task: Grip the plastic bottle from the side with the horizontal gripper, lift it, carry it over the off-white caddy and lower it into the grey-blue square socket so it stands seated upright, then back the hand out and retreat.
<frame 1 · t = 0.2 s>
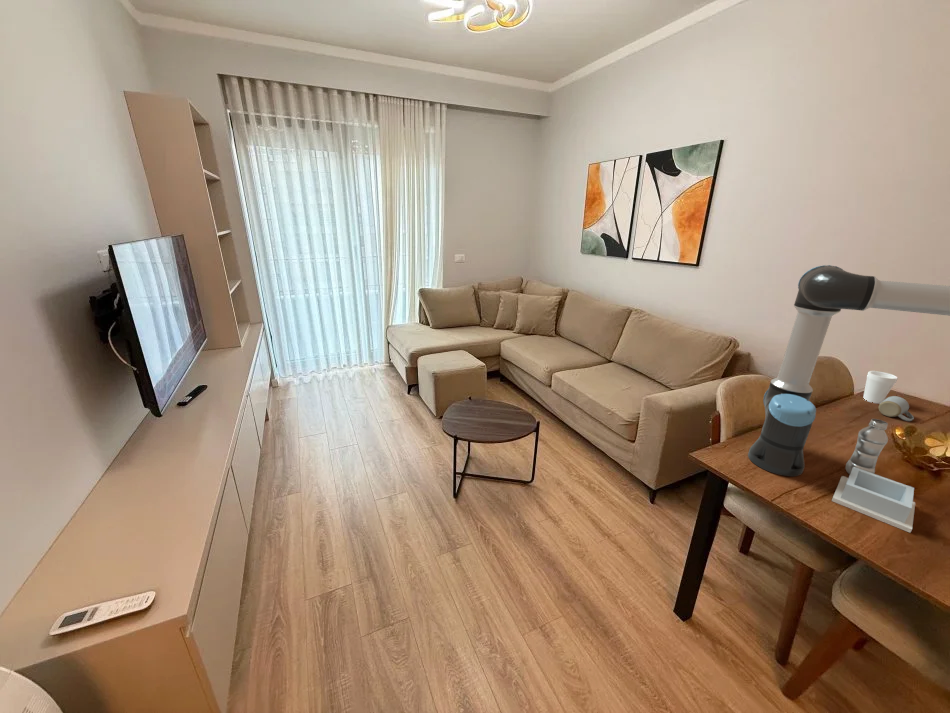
ceramic mug: (893, 416, 165), on the table
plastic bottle: (856, 476, 125), on the table
foam cup: (872, 400, 178), on the table
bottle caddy: (872, 503, 113), on the table
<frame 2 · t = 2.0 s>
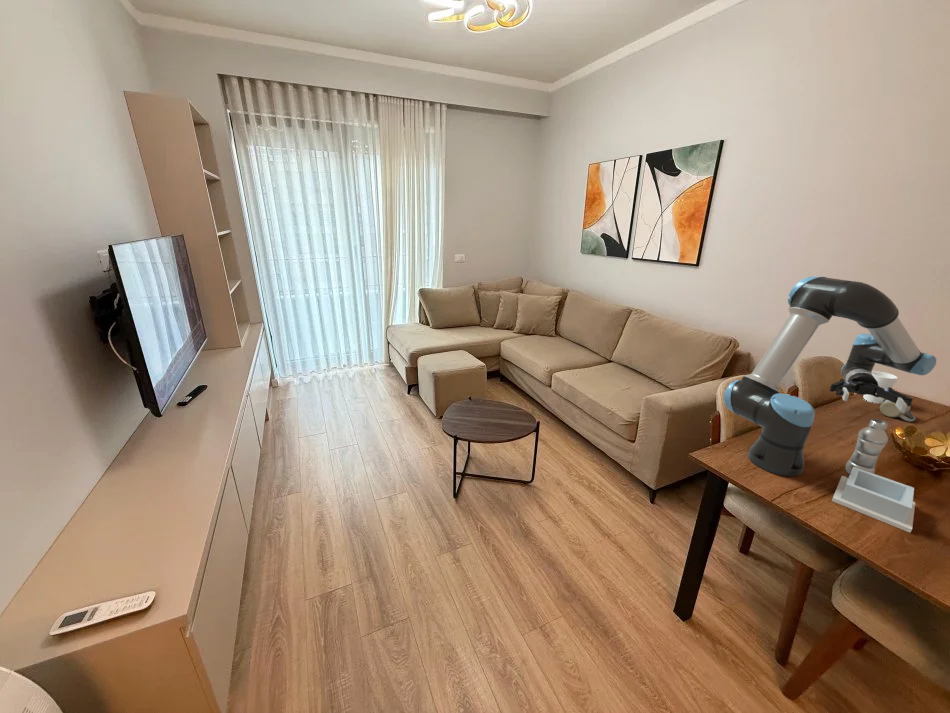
hand: (874, 403, 125), 22 cm above the table, tool horizontal, fingers open, 13 cm apart
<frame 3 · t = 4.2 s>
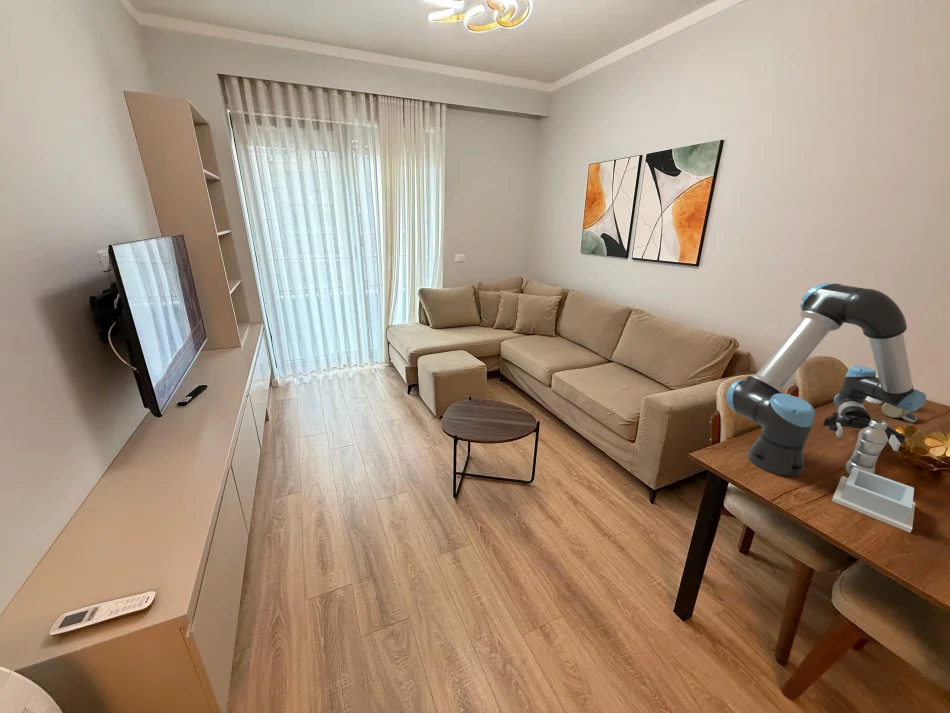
hand: (868, 440, 125), 11 cm above the table, tool horizontal, fingers open, 13 cm apart
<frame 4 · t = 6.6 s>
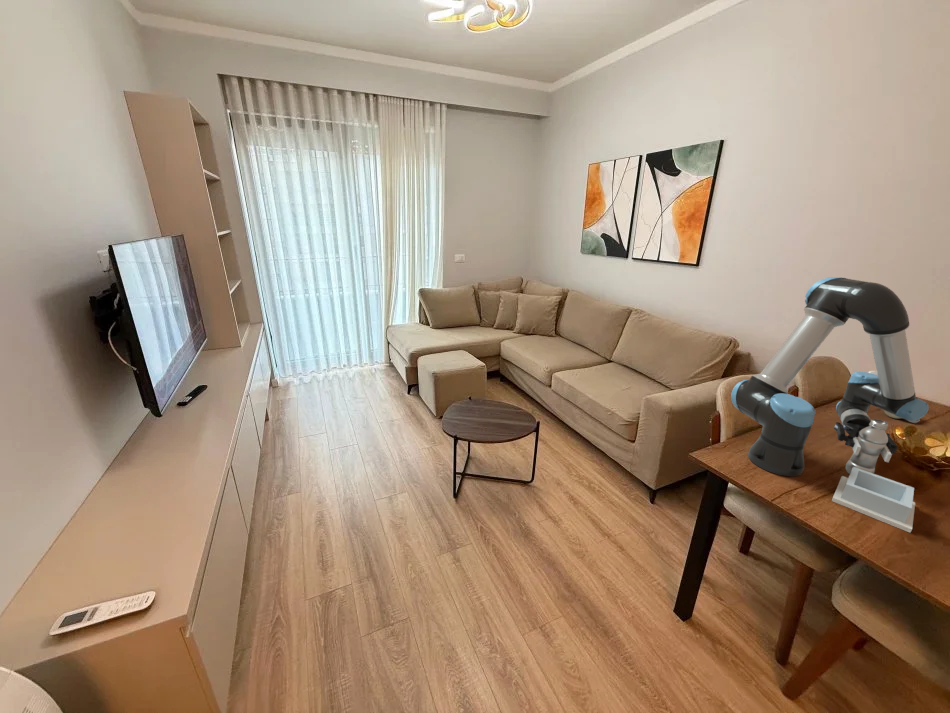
hand: (872, 454, 117), 11 cm above the table, tool horizontal, fingers closed on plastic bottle, 6 cm apart
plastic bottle: (856, 476, 125), on the table, touching gripper
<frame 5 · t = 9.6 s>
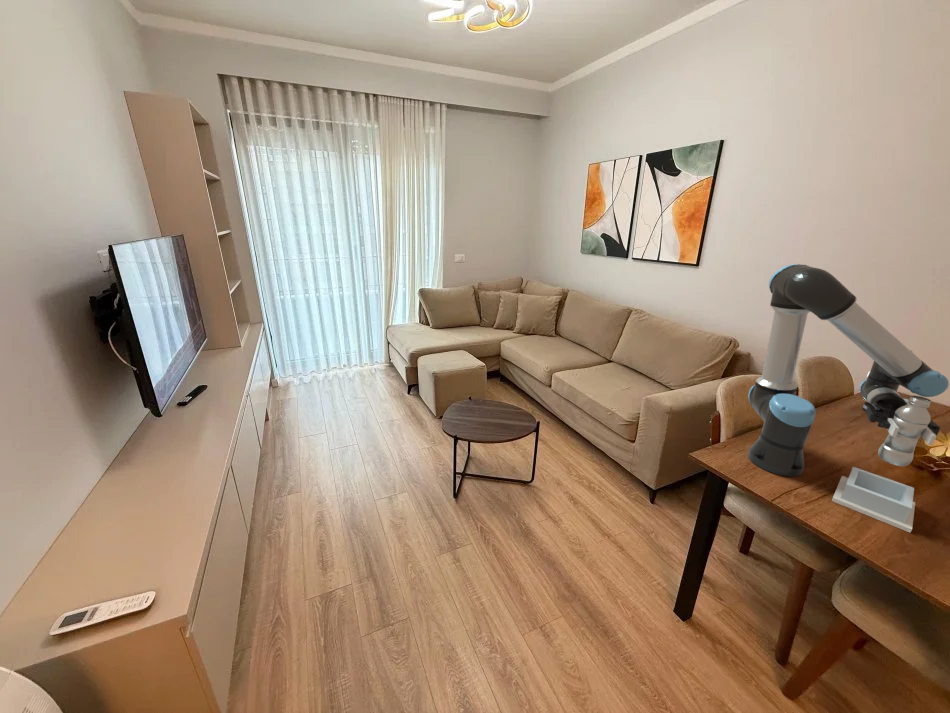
hand: (913, 436, 101), 25 cm above the table, tool horizontal, fingers closed on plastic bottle, 6 cm apart
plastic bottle: (891, 462, 109), point 14 cm above the table, touching gripper
when the fingers open (13 cm above the table, at t = 12.8 s): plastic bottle drops 1 cm, resting on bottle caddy.
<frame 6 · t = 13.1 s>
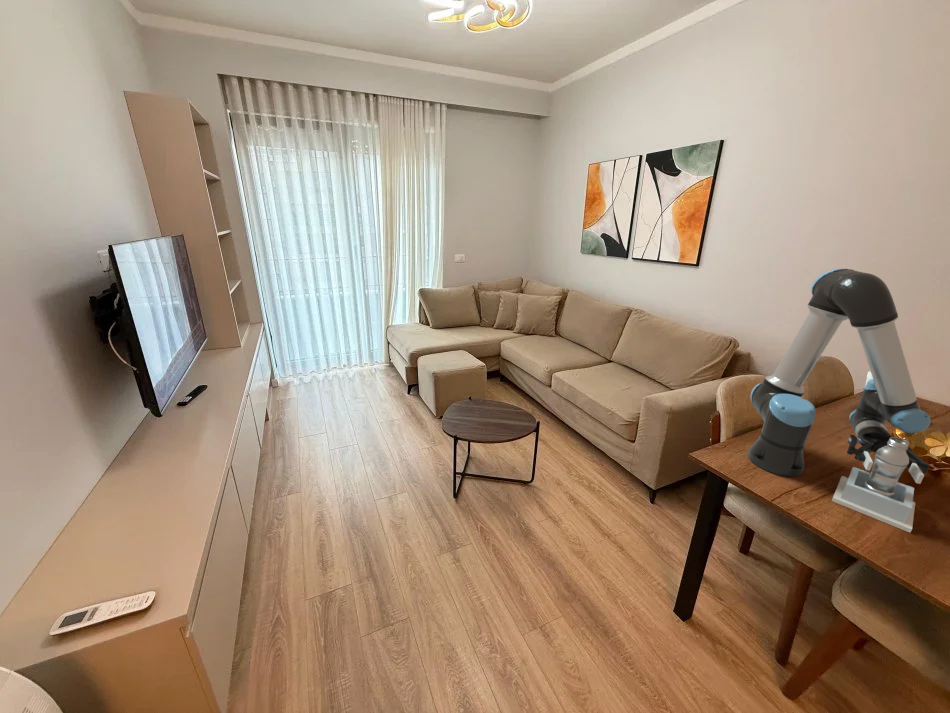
hand: (894, 472, 105), 13 cm above the table, tool horizontal, fingers open, 9 cm apart
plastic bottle: (874, 500, 112), point 1 cm above the table, touching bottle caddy
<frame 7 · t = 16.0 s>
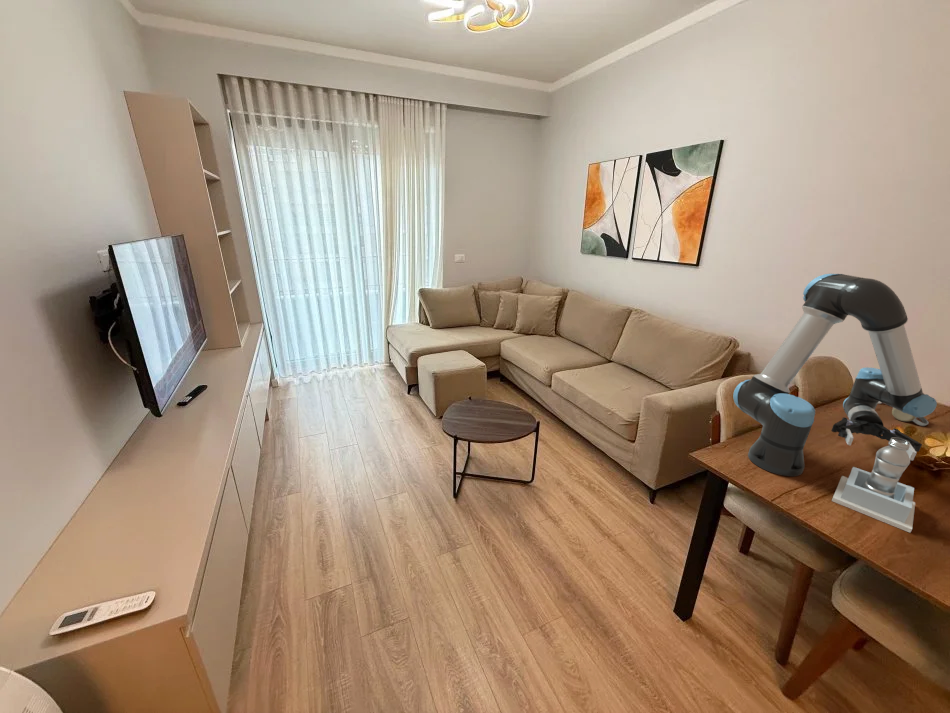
hand: (880, 448, 116), 14 cm above the table, tool horizontal, fingers open, 13 cm apart
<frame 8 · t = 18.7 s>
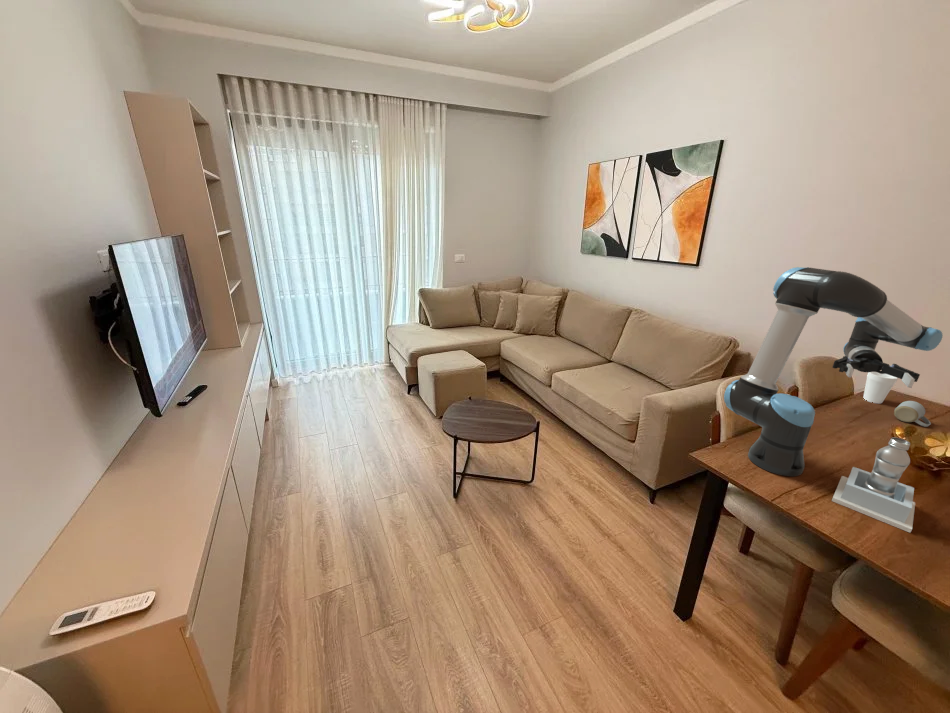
hand: (880, 378, 119), 32 cm above the table, tool horizontal, fingers open, 13 cm apart
at the end: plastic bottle 0.1 cm off-centre on the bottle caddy, point 1.0 cm above the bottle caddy's base; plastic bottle tilted 0°; the gripper is holding nothing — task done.
